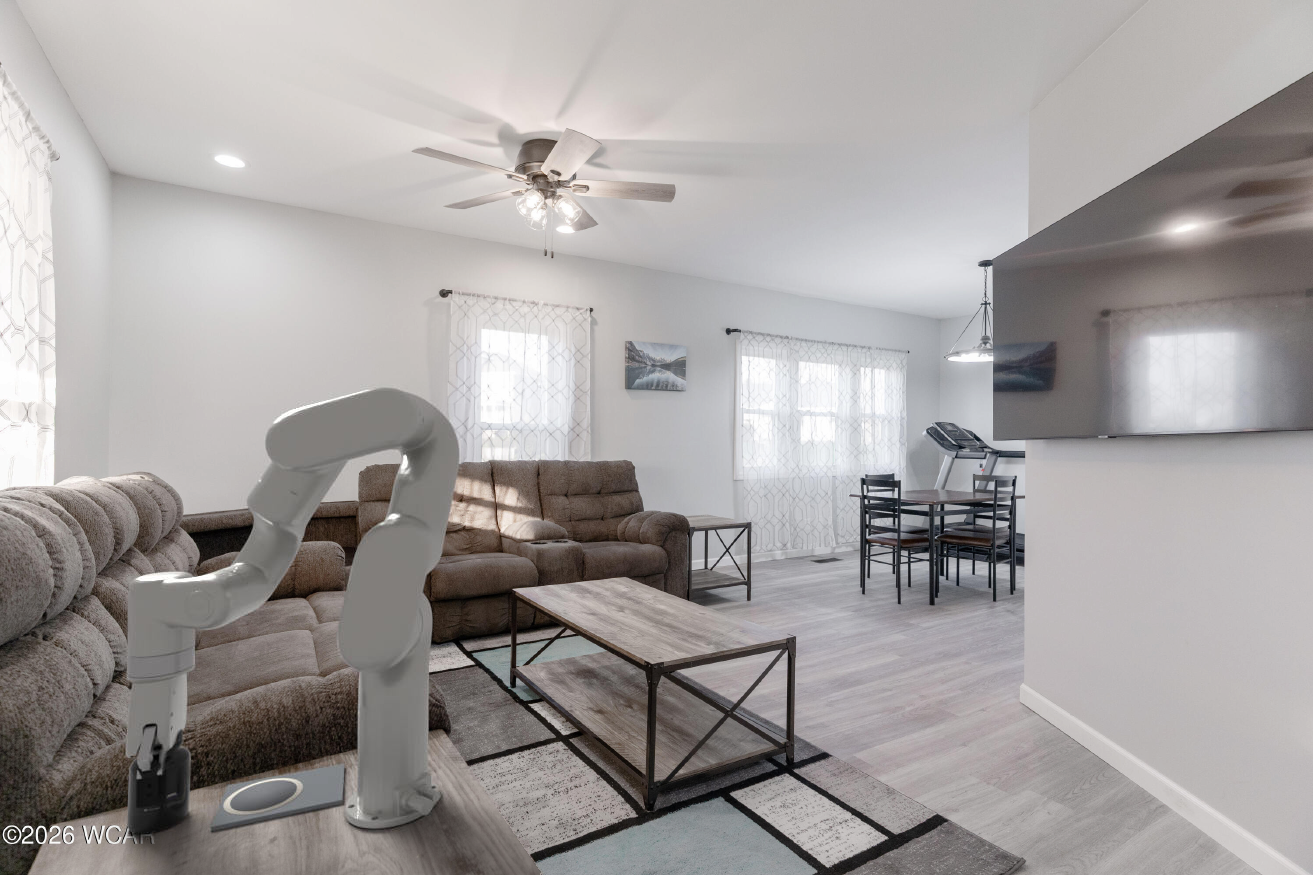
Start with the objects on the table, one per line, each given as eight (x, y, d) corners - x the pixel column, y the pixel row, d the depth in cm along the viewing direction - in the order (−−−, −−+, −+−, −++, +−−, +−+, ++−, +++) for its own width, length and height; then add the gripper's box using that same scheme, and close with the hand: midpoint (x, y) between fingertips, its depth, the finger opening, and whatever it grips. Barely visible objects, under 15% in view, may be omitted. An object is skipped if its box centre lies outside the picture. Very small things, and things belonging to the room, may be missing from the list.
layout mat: (344, 767, 104) (344, 762, 104) (342, 803, 93) (342, 798, 93) (227, 788, 97) (227, 783, 97) (210, 831, 86) (210, 825, 86)
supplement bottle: (155, 838, 85) (156, 747, 85) (114, 832, 86) (115, 742, 86) (201, 810, 92) (203, 725, 92) (162, 805, 93) (163, 721, 93)
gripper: (147, 648, 96) (145, 768, 95) (105, 687, 80) (102, 831, 80) (207, 642, 99) (205, 758, 98) (178, 677, 83) (176, 816, 83)
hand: (159, 790), depth 89 cm, fingers open, 6 cm apart
